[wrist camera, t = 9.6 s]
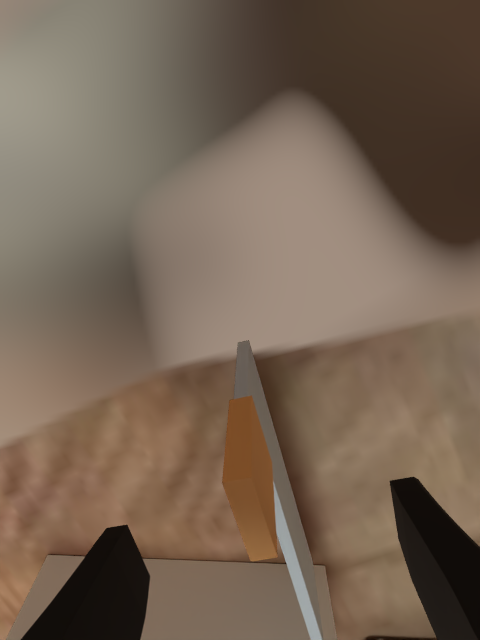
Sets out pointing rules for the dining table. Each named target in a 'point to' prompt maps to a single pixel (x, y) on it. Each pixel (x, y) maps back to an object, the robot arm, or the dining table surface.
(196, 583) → the carton
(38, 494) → the dining table surface
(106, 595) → the robot arm
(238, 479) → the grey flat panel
